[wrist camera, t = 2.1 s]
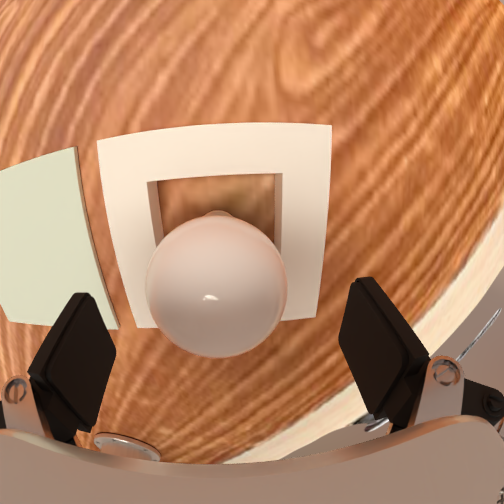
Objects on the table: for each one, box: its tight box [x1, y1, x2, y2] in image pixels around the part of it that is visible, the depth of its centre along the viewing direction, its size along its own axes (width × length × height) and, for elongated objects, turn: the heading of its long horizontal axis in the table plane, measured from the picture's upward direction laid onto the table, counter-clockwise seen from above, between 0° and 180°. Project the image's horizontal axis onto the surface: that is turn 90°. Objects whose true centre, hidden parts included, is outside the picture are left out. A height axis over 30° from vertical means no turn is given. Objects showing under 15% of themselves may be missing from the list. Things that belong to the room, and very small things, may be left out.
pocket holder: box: [97, 123, 332, 328], centre depth 18 cm, size 14×14×2 cm
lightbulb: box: [145, 210, 288, 358], centre depth 14 cm, size 6×6×11 cm
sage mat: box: [0, 146, 120, 329], centre depth 18 cm, size 16×16×1 cm
